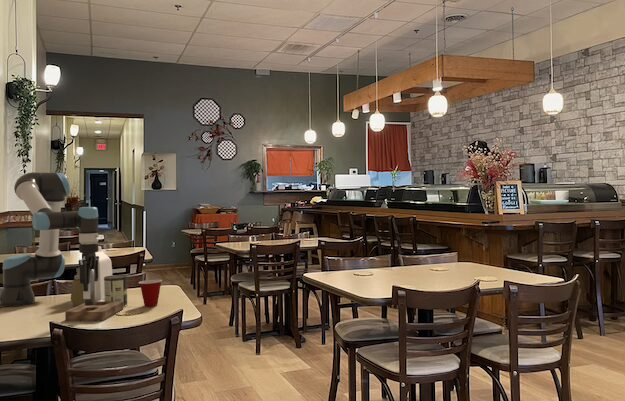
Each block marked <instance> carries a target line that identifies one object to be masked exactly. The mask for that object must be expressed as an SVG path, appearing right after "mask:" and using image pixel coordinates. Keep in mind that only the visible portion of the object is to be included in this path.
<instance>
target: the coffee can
mask: <svg viewBox="0 0 625 401" xmlns="http://www.w3.org/2000/svg"><path fill="white" fill-rule="evenodd" d="M104 294H105V299H104V301H121V302H123V308H125V307H127V306H128V276H127V275H125V274H115V275H113V274H112V276H106V277H104Z"/></svg>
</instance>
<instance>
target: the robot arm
mask: <svg viewBox="0 0 625 401" xmlns="http://www.w3.org/2000/svg"><path fill="white" fill-rule="evenodd" d="M13 186H14V187H13V190H14V193H15V195H16V197H17V198H18V199H19V200H22V201H23V202H24V204H25V205H26V207H27V208H28V210H29V211H30V212H31V214H32V217H31V224H32V228H33V229H34V230H35V231H39V243H38V249H36V251H35V252H34V256H32V255H31V254H29V253H24V254H23V253H22V254H16V255H11V256H8V257H6V258H4V259H3V261H2V280H3V282H2V283H3V284H2V286H3V289H2V291H1V294H0V307H5V308H6V307H9V308H10V307H20V306H28V305H31V304H34V303H35V302H36V297H35V293H34V291H33V289H32V281H36V280H46V279H47V280H48V279H53V278H58V277H61V275H62V274H63V273H64V271H65V266H66V261H65V260H66V258H65V255H64V254H62V252H61V250H59V242H60V241H59V239H60V230H68V229H69V230H73V229H78V242H79V244H78V250H79V253H81V254H82V256H81V259H78V260H77V261H78V266H79V267H78V268H79V271H80V283H81V284H83V299H90V283H89V277H90V269H94V281H95V296H96V281H98V261H99V256H96V254H95V252H98V246H99V243H98V242H99V237H100V235H99V210H98V207H96V206H82V207H79V208H78V210H73V211H62V209H61V208H62V204H63V203H64V202H65V200H66V199H65V198H66V197H69V196H70V193H71V185H70V181H69V178H68V176H67V175H66V174H65V173H63V172H36V171H35V172H33V171H32V172H31V171H30V172H27V173H25V174H22V175H21V176H19V178H17V180H16V181H15V183H14V185H13Z"/></svg>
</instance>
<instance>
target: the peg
mask: <svg viewBox="0 0 625 401" xmlns="http://www.w3.org/2000/svg"><path fill="white" fill-rule="evenodd" d="M89 283H90V299H85V306H91V305H95V301H96V300H95V281H94V269H90V277H89Z"/></svg>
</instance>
